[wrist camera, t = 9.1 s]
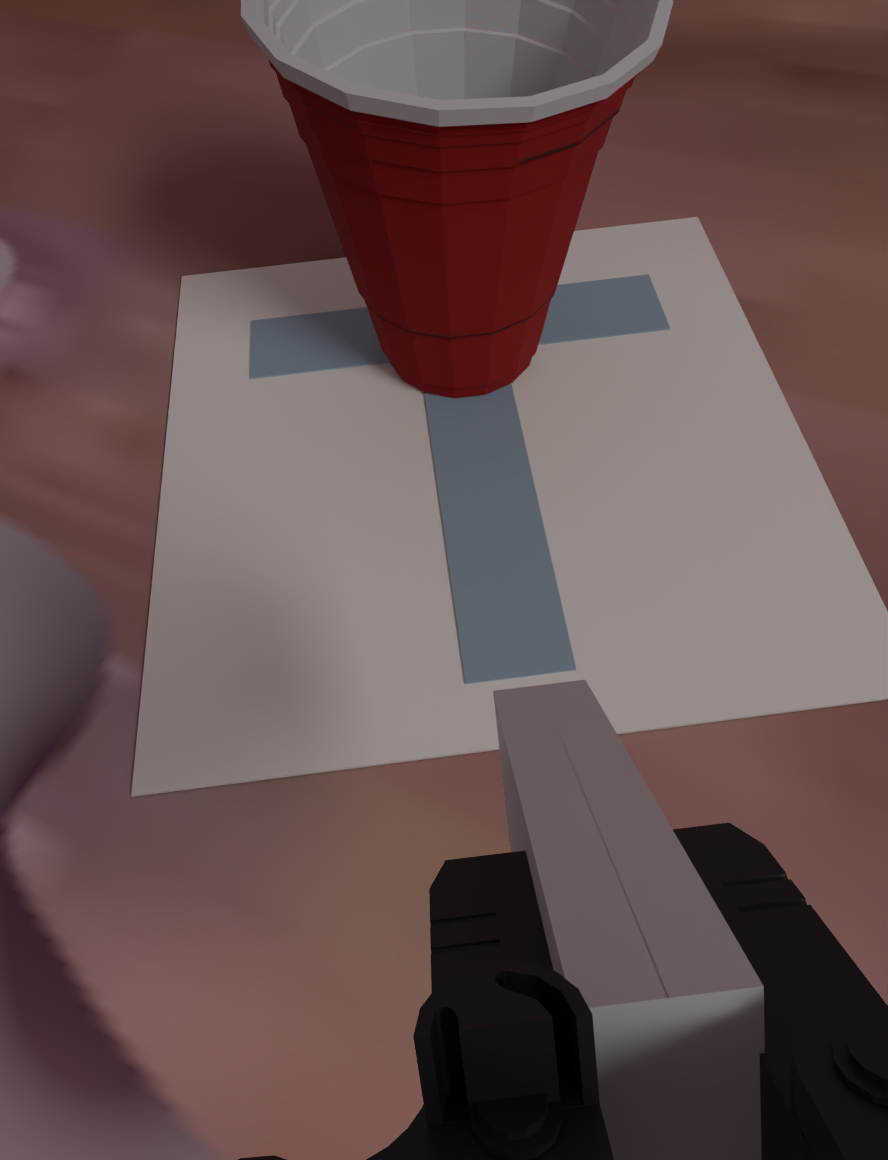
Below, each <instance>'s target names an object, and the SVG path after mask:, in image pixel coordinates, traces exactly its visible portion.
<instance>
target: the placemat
mask: <svg viewBox="0 0 888 1160" xmlns="http://www.w3.org/2000/svg"><path fill="white" fill-rule="evenodd" d="M578 680H586V682H587V683H588V685H589V687H590V688H591V690H592V692H593V694H594V695H595V697H596V699H597V700H598V702H599V704H600V706H601V707H602V709H603V711H604V713H605V714H606V716H607V718H608V719H609V721H610V723H611V725H612V726H613V728H614V730H615V731H616V733H617V734H624V733H632V732H640V731H647V730H655V729H663V728H671V727H678V726H686V725H694V724H702V723H709V722H717V721H725V720H733V719H740V718H748V717H756V716H764V715H771V714H779V713H787V712H795V711H802V710H810V709H818V708H826V707H833V706H841V705H849V704H857V703H864V702H872V701H880V700H888V612H887V610H886V608H885V605H884V603H883V601H882V599H881V597H880V595H879V593H878V591H877V589H876V587H875V585H874V583H873V581H872V578H871V576H870V574H869V572H868V570H867V568H866V566H865V564H864V562H863V560H862V558H861V556H860V554H859V551H858V549H857V547H856V545H855V543H854V541H853V539H852V537H851V535H850V533H849V531H848V529H847V527H846V524H845V522H844V520H843V518H842V516H841V514H840V512H839V510H838V508H837V506H836V504H835V502H834V500H833V497H832V495H831V493H830V491H829V489H828V487H827V485H826V483H825V481H824V479H823V477H822V475H821V473H820V470H819V468H818V466H817V464H816V462H815V460H814V458H813V456H812V454H811V452H810V450H809V448H808V445H807V443H806V441H805V439H804V437H803V435H802V433H801V431H800V429H799V427H798V425H797V423H796V421H795V418H794V416H793V414H792V412H791V410H790V408H789V406H788V404H787V402H786V400H785V398H784V396H783V394H782V391H781V389H780V387H779V385H778V383H777V381H776V379H775V377H774V375H773V373H772V371H771V369H770V367H769V364H768V362H767V360H766V358H765V356H764V354H763V352H762V350H761V348H760V346H759V344H758V342H757V340H756V337H755V335H754V333H753V331H752V329H751V327H750V325H749V323H748V321H747V319H746V317H745V315H744V313H743V310H742V308H741V306H740V304H739V302H738V300H737V298H736V296H735V294H734V292H733V290H732V288H731V286H730V283H729V281H728V279H727V277H726V275H725V273H724V271H723V269H722V267H721V265H720V263H719V261H718V259H717V256H716V254H715V252H714V250H713V248H712V246H711V244H710V242H709V240H708V238H707V236H706V234H705V232H704V229H703V227H702V225H701V223H700V221H699V219H698V217H693V218H684V219H675V220H667V221H658V222H649V223H640V224H632V225H623V226H614V227H606V228H597V229H588V230H580V231H574V233H573V236H572V239H571V242H570V246H569V249H568V252H567V256H566V259H565V262H564V265H563V269H562V272H561V275H560V278H559V282H558V285H557V288H556V291H555V294H554V296H553V297H552V298H551V302H550V306H549V309H548V313H547V317H546V320H545V324H544V328H543V332H542V335H541V338H540V341H539V344H538V348H537V351H536V354H535V355H534V356H533V357H532V359H531V363H530V366H529V367H528V368H527V369H526V370H525V371H524V372H523V373H522V374H521V375H520V376H519V377H518V378H517V379H516V380H515V381H514V382H513V383H511V384H509V385H507V386H504V387H502V388H500V389H498V390H495V391H493V392H491V393H489V394H486V395H479V396H471V397H463V398H451V397H445V396H439V395H433V394H428V393H425V392H423V391H421V390H419V389H418V388H416V387H414V386H412V385H410V384H408V383H407V382H405V381H403V380H402V378H401V377H400V376H399V374H398V373H397V372H396V371H395V369H394V368H393V367H392V365H391V364H390V363H389V360H388V357H387V356H386V355H385V353H384V352H383V351H382V348H381V346H380V343H379V340H378V337H377V334H376V331H375V329H374V326H373V323H372V320H371V317H370V314H369V311H368V309H367V306H366V303H365V300H364V299H363V298H362V296H361V295H360V294H359V292H358V289H357V286H356V284H355V281H354V278H353V275H352V272H351V269H350V267H349V264H348V261H347V258H346V257H345V258H336V259H327V260H319V261H310V262H301V263H292V264H284V265H275V266H266V267H258V268H249V269H240V270H232V271H223V272H214V273H205V274H197V275H188V276H182V279H181V289H180V299H179V310H178V320H177V330H176V341H175V351H174V361H173V371H172V382H171V392H170V402H169V412H168V423H167V433H166V443H165V454H164V464H163V474H162V484H161V495H160V505H159V515H158V525H157V536H156V546H155V556H154V567H153V577H152V587H151V597H150V608H149V618H148V628H147V638H146V649H145V659H144V669H143V680H142V690H141V700H140V710H139V721H138V731H137V741H136V751H135V762H134V772H133V782H132V793H131V796H132V797H136V796H144V795H151V794H159V793H167V792H175V791H182V790H190V789H198V788H206V787H213V786H221V785H229V784H237V783H244V782H252V781H260V780H268V779H275V778H283V777H291V776H299V775H306V774H314V773H322V772H330V771H337V770H345V769H353V768H361V767H368V766H376V765H384V764H392V763H399V762H407V761H415V760H423V759H430V758H438V757H446V756H454V755H461V754H469V753H477V752H485V751H492V750H499V741H498V731H497V722H496V713H495V704H494V694H493V691H495V690H504V689H512V688H520V687H528V686H536V685H545V684H553V683H561V682H569V681H578Z"/></svg>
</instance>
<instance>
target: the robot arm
mask: <svg viewBox="0 0 888 1160" xmlns="http://www.w3.org/2000/svg"><path fill="white" fill-rule="evenodd" d="M493 694H494V704H495V713H496V722H497V731H498V741H499V750H500V759H501V768H502V778H503V787H504V796H505V805H506V815H507V824H508V833H509V841H510V846H511V851H512V852H510V853H502V854H494V855H485V856H477V857H469V858H461V859H453V860H446V861H445V862H444V864H443V866H442V868H441V869H440V871H439V873H438V875H437V877H436V878H435V880H434V882H433V884H432V885H431V887H430V923H431V927H430V934H431V979H432V994H431V995H430V996H429V998H428V999H427V1000H426V1002H425V1003H424V1004H423V1006H422V1007H421V1008H420V1011H419V1016H418V1020H417V1024H416V1028H415V1032H414V1043H415V1049H416V1056H417V1062H418V1069H419V1076H420V1082H421V1089H422V1095H423V1102H424V1105H423V1107H422V1109H421V1110H420V1111H419V1113H418V1114H417V1116H416V1117H415V1119H414V1120H413V1122H412V1123H411V1124H410V1126H409V1127H408V1129H406V1130H405V1131H404V1132H403V1133H402V1134H401V1135H400V1136H399V1137H398V1138H397V1139H396V1140H395V1141H394V1142H392V1143H391V1144H390V1145H389V1146H388V1147H387V1148H385V1149H383V1150H382V1151H380V1152H378V1153H377V1154H375V1155H373V1156H372V1157H370V1158H368V1159H367V1160H888V1006H887V1005H886V1003H885V1002H884V1001H883V999H882V998H881V997H880V995H879V994H878V993H877V992H876V990H875V989H874V988H873V986H872V985H871V984H870V982H869V981H868V980H867V978H866V977H865V976H864V975H863V973H862V972H861V971H860V969H859V968H858V967H857V965H856V964H855V963H854V961H853V960H852V959H851V958H850V956H849V955H848V954H847V952H846V951H845V950H844V948H843V947H842V946H841V944H840V943H839V942H838V941H837V939H836V938H835V937H834V935H833V934H832V933H831V931H830V930H829V929H828V927H827V926H826V925H825V924H824V922H823V921H822V920H821V918H820V917H819V916H818V914H817V913H816V912H815V910H814V909H813V908H812V907H811V905H807V904H806V900H805V897H804V896H803V895H802V893H801V892H800V891H799V890H798V888H797V887H796V886H795V884H794V883H793V882H792V880H788V879H787V875H786V873H785V871H784V870H783V869H782V867H781V866H780V865H779V863H778V862H777V861H776V859H775V858H774V857H773V856H772V854H771V853H770V852H769V850H768V849H767V848H766V846H765V845H764V844H762V843H761V842H759V841H757V840H756V839H754V838H753V837H751V836H750V835H748V834H746V833H745V832H743V831H742V830H740V829H738V828H737V827H735V826H734V825H732V824H730V823H723V824H714V825H706V826H698V827H690V828H682V829H674V830H672V828H671V826H670V824H669V823H668V821H667V819H666V817H665V816H664V814H663V812H662V811H661V809H660V807H659V805H658V804H657V802H656V800H655V799H654V797H653V795H652V793H651V792H650V790H649V788H648V786H647V785H646V783H645V781H644V780H643V778H642V776H641V774H640V773H639V771H638V769H637V768H636V766H635V764H634V762H633V761H632V759H631V757H630V756H629V754H628V752H627V750H626V749H625V747H624V745H623V743H622V742H621V740H620V738H619V737H618V735H617V733H616V731H615V730H614V728H613V726H612V725H611V723H610V721H609V719H608V718H607V716H606V714H605V713H604V711H603V709H602V707H601V706H600V704H599V702H598V700H597V699H596V697H595V695H594V694H593V692H592V690H591V688H590V687H589V685H588V683H587V682H586V680H578V681H569V682H561V683H553V684H545V685H536V686H528V687H520V688H512V689H504V690H495V691H493ZM238 1160H286V1159H283V1158H280V1157H277V1156H263V1157H251V1158H240V1159H238Z"/></svg>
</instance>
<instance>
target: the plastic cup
mask: <svg viewBox="0 0 888 1160" xmlns="http://www.w3.org/2000/svg"><path fill="white" fill-rule="evenodd" d="M672 6H673V0H241V17H242V19H243V22H244V24H245V26H246V29H247V31H248V33H249V36H250V37H251V38H252V40H253V41H254V42H255V43H256V44H257V46H258V47H259V48H260V49H261V51H262V52H263V53H264V54H265V55H266V57H267V58H268V59H269V62H270V65H271V67H272V68H273V69H274V71H275V72H276V74H277V77H278V80H279V83H280V87H281V90H282V93H283V96H284V98H285V99H286V100H287V101H288V103H289V104H290V107H291V110H292V113H293V116H294V119H295V122H296V125H297V128H298V132H299V135H300V137H301V139H302V140H303V141H304V142H305V143H306V145H307V148H308V151H309V154H310V157H311V160H312V162H313V165H314V168H315V171H316V174H317V176H318V179H319V182H320V185H321V188H322V191H323V193H324V196H325V199H326V202H327V205H328V207H329V210H330V213H331V216H332V219H333V222H334V224H335V227H336V230H337V233H338V236H339V238H340V241H341V244H342V247H343V250H344V253H345V255H346V258H347V261H348V264H349V267H350V269H351V272H352V275H353V278H354V281H355V284H356V286H357V289H358V292H359V294H360V295H361V296H362V298H363V299H364V300H365V303H366V306H367V309H368V311H369V314H370V317H371V320H372V323H373V326H374V329H375V331H376V334H377V337H378V340H379V343H380V346H381V348H382V351H383V352H384V353H385V355H386V356H387V357H388V360H389V363H390V364H391V365H392V367H393V368H394V369H395V371H396V372H397V373H398V374H399V376H400V377H401V378H402V380H403V381H405V382H407V383H408V384H410V385H412V386H414V387H416V388H418V389H419V390H421V391H423V392H425V393H428V394H433V395H439V396H445V397H451V398H463V397H471V396H479V395H486V394H489V393H491V392H493V391H495V390H498V389H500V388H502V387H504V386H507V385H509V384H511V383H513V382H514V381H515V380H516V379H517V378H518V377H519V376H520V375H521V374H522V373H523V372H524V371H525V370H526V369H527V368H528V367H529V366H530V363H531V359H532V357H533V356H534V355H535V354H536V351H537V348H538V344H539V341H540V338H541V335H542V332H543V328H544V324H545V320H546V317H547V313H548V309H549V306H550V302H551V298H552V297H553V296H554V294H555V291H556V288H557V285H558V282H559V278H560V275H561V272H562V269H563V265H564V262H565V259H566V256H567V252H568V249H569V246H570V242H571V239H572V236H573V233H574V229H575V226H576V223H577V219H578V216H579V213H580V210H581V206H582V203H583V200H584V196H585V193H586V190H587V187H588V183H589V180H590V177H591V173H592V170H593V167H594V164H595V160H596V157H597V154H598V151H599V150H600V149H601V148H602V147H603V145H604V142H605V139H606V136H607V133H608V130H609V127H610V125H611V122H612V119H613V116H614V115H616V114H617V113H618V112H619V109H620V107H621V104H622V101H623V98H624V96H625V93H626V90H627V89H628V88H629V87H631V86H632V83H633V80H634V78H635V77H636V76H637V75H638V74H639V73H640V71H642V70H643V69H644V68H645V67H647V66H648V65H649V64H650V63H651V62H653V60H654V58H655V56H656V55H657V53H658V51H659V49H660V47H661V45H662V43H663V39H664V35H665V31H666V28H667V24H668V20H669V17H670V13H671V9H672Z"/></svg>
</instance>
